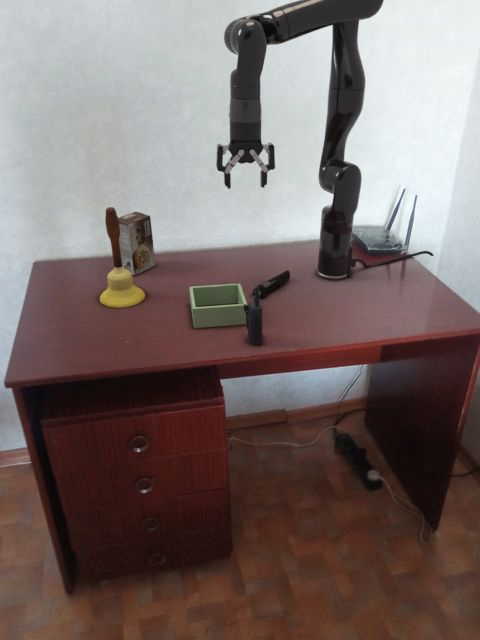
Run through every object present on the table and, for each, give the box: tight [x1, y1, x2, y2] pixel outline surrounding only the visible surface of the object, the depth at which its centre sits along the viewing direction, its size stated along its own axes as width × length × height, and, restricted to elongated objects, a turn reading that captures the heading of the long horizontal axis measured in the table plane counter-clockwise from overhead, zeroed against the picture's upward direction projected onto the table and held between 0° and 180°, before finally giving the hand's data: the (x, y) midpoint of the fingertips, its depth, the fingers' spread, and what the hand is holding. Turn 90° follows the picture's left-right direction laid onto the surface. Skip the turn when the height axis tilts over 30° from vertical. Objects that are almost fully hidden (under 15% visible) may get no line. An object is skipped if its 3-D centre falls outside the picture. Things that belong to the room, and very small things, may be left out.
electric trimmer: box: [251, 269, 291, 300], centre depth 157 cm, size 4×16×3 cm, turn 143°
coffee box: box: [118, 211, 156, 276], centre depth 164 cm, size 9×6×16 cm
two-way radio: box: [243, 285, 263, 345], centre depth 130 cm, size 6×4×15 cm
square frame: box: [188, 283, 248, 329], centre depth 143 cm, size 14×13×6 cm
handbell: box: [99, 206, 146, 308], centre depth 145 cm, size 12×12×25 cm
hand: (245, 187), depth 138 cm, fingers open, 8 cm apart
